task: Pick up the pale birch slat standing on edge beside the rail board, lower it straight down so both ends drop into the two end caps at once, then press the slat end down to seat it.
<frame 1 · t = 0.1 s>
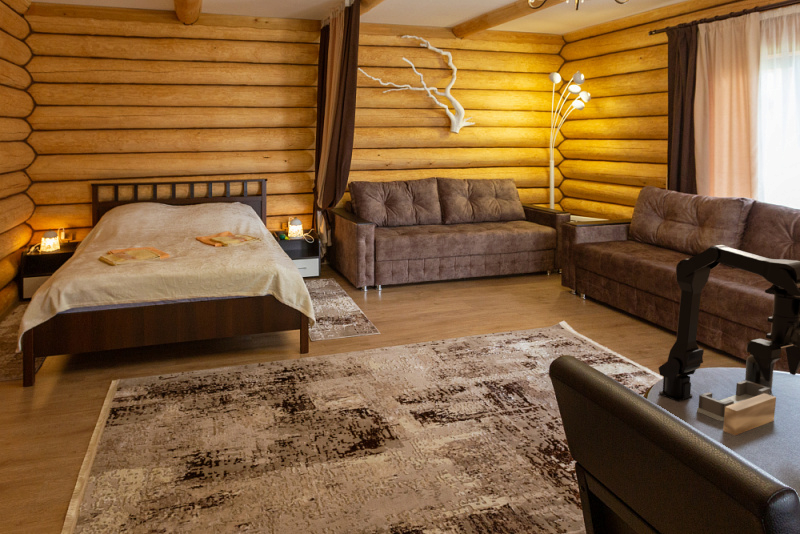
hand: (780, 377, 149), 14 cm above the table, tool pointing down, fingers open, 9 cm apart
supplement bottle: (757, 388, 179), on the table
slat: (748, 426, 156), on the table
slat rail: (734, 407, 167), on the table
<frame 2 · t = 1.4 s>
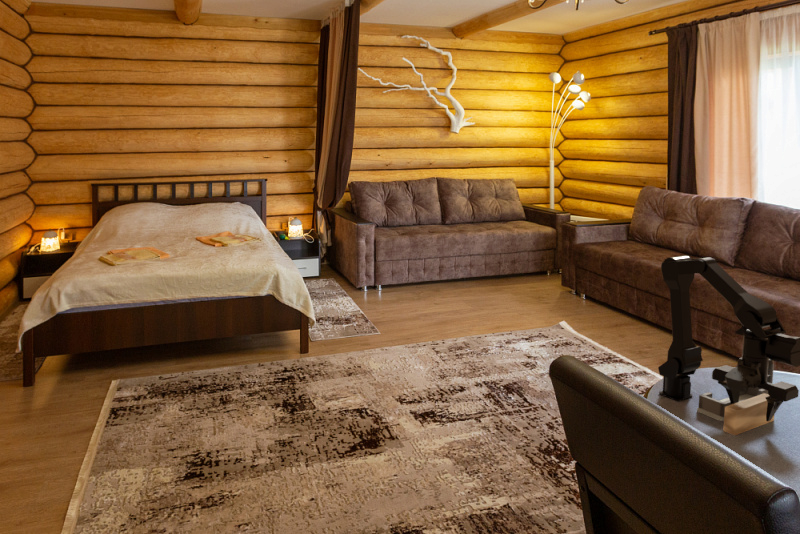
hand: (751, 414, 155), 3 cm above the table, tool pointing down, fingers open, 8 cm apart
nothing on the table moved.
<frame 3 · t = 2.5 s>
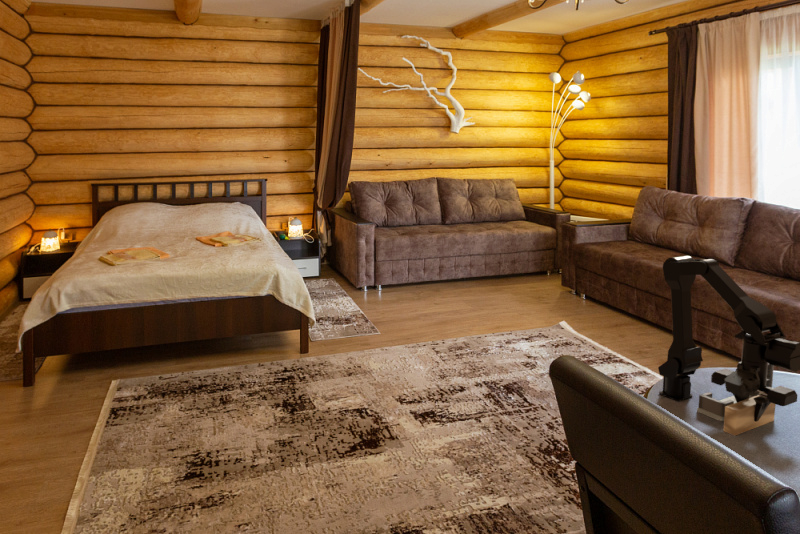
hand: (749, 418, 156), 2 cm above the table, tool pointing down, fingers closed on slat, 3 cm apart
slat: (749, 425, 156), on the table, touching gripper
everything else where it was.
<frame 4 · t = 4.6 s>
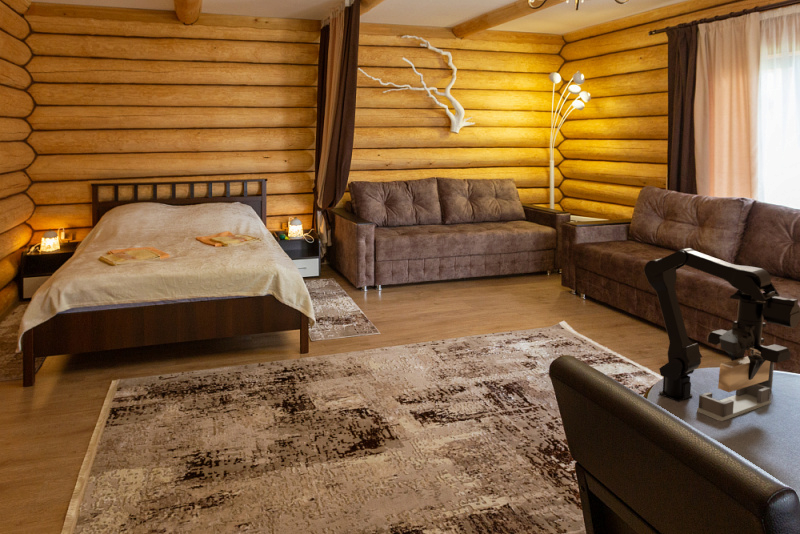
hand: (744, 377, 159), 11 cm above the table, tool pointing down, fingers closed on slat, 3 cm apart
slat: (743, 384, 160), point 9 cm above the table, touching gripper
everything else where it was.
when the fingers open (4 cm above the table, at t = 6.4 s): slat drops 2 cm, resting on slat rail.
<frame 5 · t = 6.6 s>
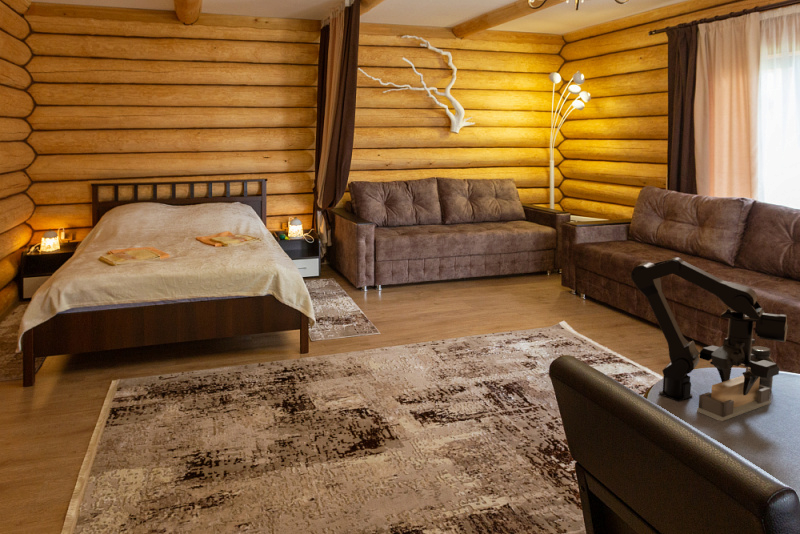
hand: (735, 391, 166), 5 cm above the table, tool pointing down, fingers open, 5 cm apart
slat: (734, 403, 167), point 1 cm above the table, touching slat rail
everything else where it was.
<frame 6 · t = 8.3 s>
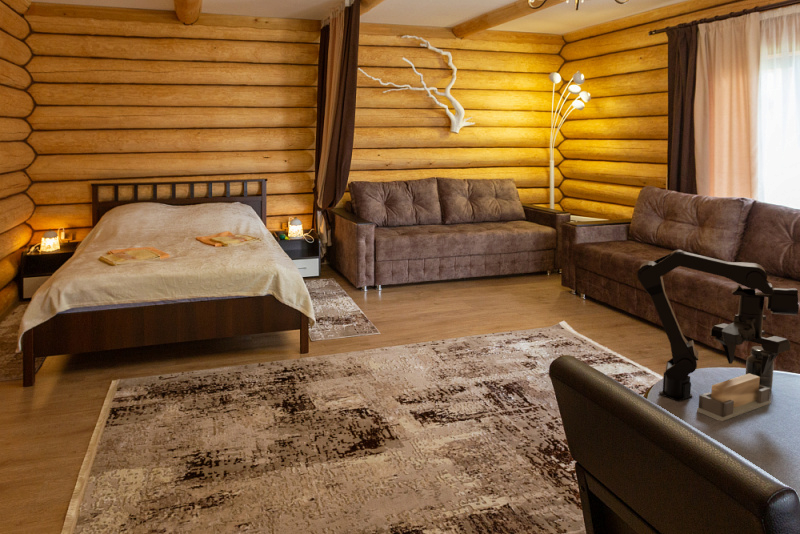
hand: (746, 368, 166), 10 cm above the table, tool pointing down, fingers open, 9 cm apart
nothing on the table moved.
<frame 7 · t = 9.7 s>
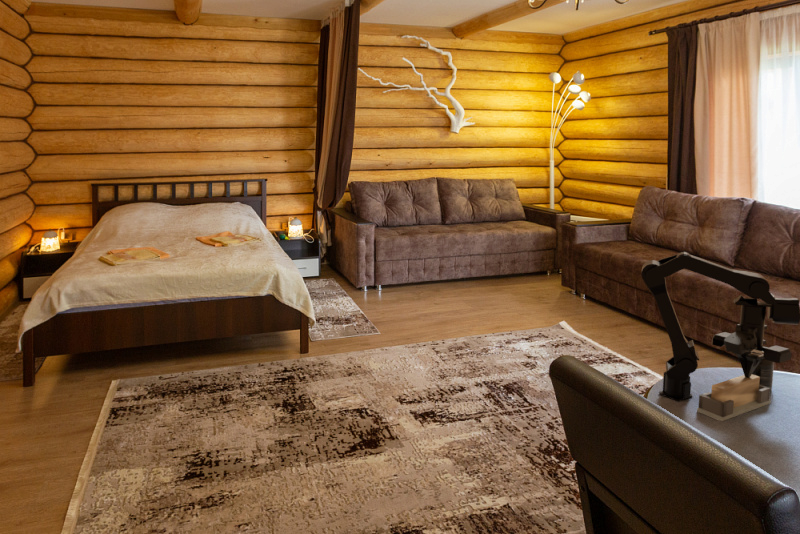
hand: (747, 377, 168), 7 cm above the table, tool pointing down, fingers closed, pressing on slat
slat: (734, 403, 167), point 1 cm above the table, touching gripper, slat rail
everything else where it was.
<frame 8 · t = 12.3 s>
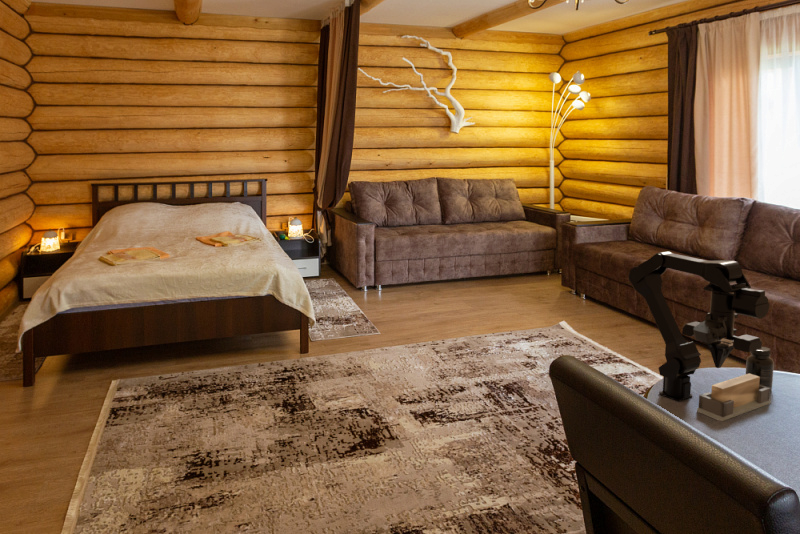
hand: (718, 367, 163), 12 cm above the table, tool pointing down, fingers closed
slat: (734, 403, 167), point 1 cm above the table, touching slat rail
everything else where it was.
at the end: slat 0.0 cm off-centre on the slat rail, point 1.0 cm above the slat rail's base; slat tilted 0°; the gripper is holding nothing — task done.
